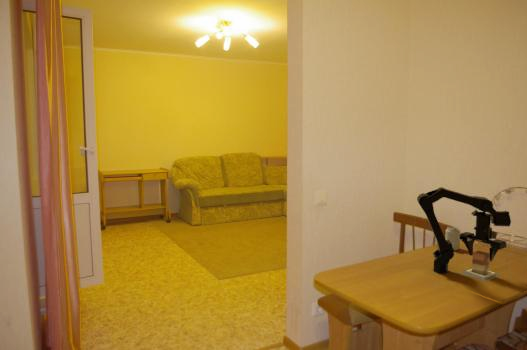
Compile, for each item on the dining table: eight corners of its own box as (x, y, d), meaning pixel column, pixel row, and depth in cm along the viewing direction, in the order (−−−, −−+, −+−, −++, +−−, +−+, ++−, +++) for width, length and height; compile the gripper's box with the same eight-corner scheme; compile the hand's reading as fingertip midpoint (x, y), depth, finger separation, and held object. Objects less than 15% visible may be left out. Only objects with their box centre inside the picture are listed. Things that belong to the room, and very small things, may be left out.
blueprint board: (485, 283, 171) (485, 279, 170) (460, 274, 181) (460, 270, 181) (500, 277, 177) (500, 273, 176) (475, 269, 187) (475, 265, 187)
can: (462, 250, 213) (463, 229, 211) (448, 251, 213) (449, 230, 211) (455, 246, 220) (456, 226, 218) (442, 246, 220) (443, 226, 219)
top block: (482, 266, 175) (483, 255, 174) (472, 262, 179) (472, 252, 178) (489, 263, 177) (489, 253, 176) (478, 260, 181) (479, 250, 181)
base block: (482, 276, 175) (483, 266, 175) (471, 273, 180) (472, 262, 179) (488, 274, 178) (489, 264, 177) (478, 270, 182) (478, 260, 181)
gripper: (514, 227, 172) (511, 260, 174) (473, 218, 188) (471, 249, 190) (500, 231, 166) (498, 265, 168) (459, 221, 182) (457, 253, 184)
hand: (481, 258), depth 178 cm, fingers open, 9 cm apart
